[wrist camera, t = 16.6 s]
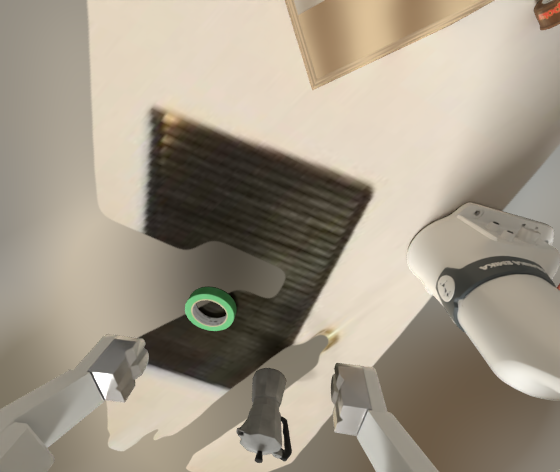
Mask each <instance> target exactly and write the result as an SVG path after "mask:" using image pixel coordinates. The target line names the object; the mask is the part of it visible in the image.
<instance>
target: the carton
mask: <svg viewBox="0 0 560 472" xmlns="http://www.w3.org/2000/svg"><path fill="white" fill-rule="evenodd" d="M492 1H494V0H285V2H286V5H287V9H288V12H289V15H290V18H291V22H292V25H293V28H294V31H295V35H296V38H297V41H298V44H299V48H300V51H301V54H302V57H303V61H304V64H305V67H306V71H307V74H308V77H309V80H310V84H311V87H312V90H314V89H316V88H318V87H320V86H323V85H325V84H327V83H329V82H331V81H333V80H335V79H337V78H339V77H342V76H344V75H346V74H348V73H350V72H352V71H354V70H356V69H358V68H361V67H363V66H365V65H367V64H369V63H371V62H373V61H375V60H377V59H380V58H382V57H384V56H386V55H388V54H390V53H392V52H394V51H397V50H399V49H401V48H403V47H405V46H407V45H409V44H411V43H413V42H416V41H418V40H420V39H422V38H424V37H426V36H428V35H430V34H432V33H435V32H437V31H439V30H441V29H443V28H445V27H447V26H449V25H451V24H453V23H455V22H457V21H459V20H460V19H462V18H464V17H466V16H468V15H469V14H471V13H473V12H475V11H476V10H478V9H480V8H482V7H484V6H485V5H487V4H489V3H491V2H492Z"/></svg>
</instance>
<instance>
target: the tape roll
mask: <svg viewBox="0 0 560 472" xmlns="http://www.w3.org/2000/svg"><path fill="white" fill-rule="evenodd" d="M202 300H210V301H213V302H216V303H218V304H219V305H221V306H222V308H224V309H225V311H226V314H227V315H225V316H224V317H221V318H211V317H208V316H206V315H204V314H203V313H201V312H200V311H199V309H198V307H197V302H198V301H202ZM236 309H237V308H236V304H235V302H234V300H233V299H232V297H231V296H230V295H229V294H227V292H225V291H224V290H222V289H219V288H216V287H201V288H199V289H197V290H195V291H194V292H193V293H192V294H191V296H190V297H189V299H188V301H187V302H186V305H185V312H186V315H187V317H188V318H189V320H190V321H191V322H192V323H193V324H195V325H196V326H198V327H200V328H202V329H205V330H210V331H219V330H223V329H226V328H228V327H229V326H230V325H231V324H232V322H233V320H234V317H235V314H236Z"/></svg>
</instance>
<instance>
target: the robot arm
mask: <svg viewBox="0 0 560 472" xmlns="http://www.w3.org/2000/svg"><path fill="white" fill-rule="evenodd" d="M476 211H477V213H476V214H474V213H475V212H476ZM553 238H554V231H553V228H552V227H551V226H549V225H547V224H544V223H541V222H538V221H534V220H531V219H527V218H523V217H520V216H517V215H513V214H510V213H507V212H503V211H500V210H496V209H493V208H489V207H486V206H482V205H479V204H475V203H466V204H464V205H462V206H461V207H460V208H458V209H457V210H456V211H455V212H453V213H452V214H451V215H449V216H447V217H445V218H442V219H440V220H437V221H435V222H433V223H431V224H430V225H428V226H427V227H425V228H424V229H423V230H422V231H420V232H419V233H418V234H417V236H416V237H415V238H414V239H413V241H412V242H411V244H410V246H409V249H408V253H407V264H408V267H409V269H410V271H411V272H412V273H413V274H414V275H415V276H416V277H417V278H418V279H419V280H420V281H421V282H422V283H423V285H424V287H425V289H426V291H427V292H428V293H429V294H430V295H434V296H435V297H436V298H437V300H439V302H440V303H441V304H442V305H443V306H444V308H445V310H446V311H447V313H448V314H449V316H450V317H451V319H452V321H453V322H454V323H455V324H456V325H457V326H458V327H459V328H460V329H461V330H462V331H463V332H465V333H467V335H468V336H469V338H470V339H471V341H472V342H473V344H474V345H475V346H476V348H477V349H478V350H479V352H480V353H481V355H482V356H483V358H484V359H485V361H486V362H487V363H488V365H489V366H490V368H491V369H492V370H493V372H494V373H495V374H496V375H497V376H498V377H499V378H500V379H501V380H502V381H504V382H505V383H506V384H508V385H510V386H512V387H513V388H515V389H517V390H519V391H521V392H524V393H526V394H528V395H531V396H534V397H538V398H542V399H549V400H559V401H560V284H559V285H558V287H557V288H556V286H555V285H554V283H553V281H552V278H553V277H554V275H555V273H556V272H557V270H558V267H559V264H560V253H559V252H558V250H557V249H556V248H554V247H553V246H552V242H553ZM144 346H145V341H144V339H140V338H132V337H125V336H119V335H111V334H107V335H105V336H104V337H102V338H101V340H100V341H99V342H98V343H97V344H96V345H95V346H94V347H93V348H92V350H91V351H90V352H89V353H88V354H87V355H86V356H85V357H84V359H83V360H82V361H81V362H80V363H79V364H78V365H77V366H76V368H75V369H74V370H69V371H66V372H65V373H63V374H61V375H60V376H58V377H56V378H54V379H53V380H51V381H49V382H47V383H46V384H44V385H42V386H40V387H38V388H37V389H35V390H33V391H32V392H30V393H28V394H26V395H24V396H23V397H21V398H20V399H17V400H16V401H14V402H12V403H10V404H9V405H7V406H5V407H4V408H2V409H0V472H47V471H48V470H49V468H50V467H51V465H52V464H53V462H54V456H53V455H52V453H51V452H50V451H49V450H48V449H47V448H48V447H49V446H50V445H51V444H53V443H54V442H55V441H56V440H57V439H59V438H60V437H61V436H62V435H64V434H65V433H66V432H67V431H69V430H70V429H71V428H72V427H74V426H75V425H76V424H77V423H78V422H80V421H81V420H82V419H83V418H85V417H86V416H87V415H88V414H89V413H90V412H92V411H93V410H94V409H96V408H97V407H98V406H99V405H100V404H102V403H103V402H104V400H107V401H116V402H125V401H126V400H127V398H128V396H129V395H130V393H131V392H132V390H133V388H134V387H135V379H137V378H138V377H139V376H141V375H142V374H143V372H144V370H145V369H146V366H147V363H148V359H149V355H148V351H147V350H146V349H144V348H143V347H144ZM334 369H335V374H334V375H333V376H332V380H331V399H332V402H333V403H334V405H335V406H334V410H333V421H334V432H338V433H344V434H349V435H355V436H357V439H358V440H359V442H360V444H361V445H362V447H363V449H364V451H365V453H366V454H367V456H368V458H369V460H370V461H371V463H372V465H373V467H374V469H375V470H376V472H439V471H438V470H437V469H436V468H435V467H434V465H433V464H432V463H431V461H430V460H429V459H428V458H427V457H426V455H425V454H424V453H423V452H422V450H421V449H420V448H419V447H418V445H417V444H416V443H415V442H414V441H413V439H412V438H411V437H410V435H409V434H408V433H407V432H406V431H405V429H404V428H403V427H402V426H401V424H400V423H399V422H398V421H397V419H396V418H395V417H394V416H393V414H392V413H388V412H387V409H386V405H385V402H384V398H383V394H382V390H381V387H380V383H379V380H378V376H377V372H376V370H375V368H373V367H365V366H360V365H351V364H342V363H336V365H335V368H334ZM556 472H560V469H559V470H558V471H556Z"/></svg>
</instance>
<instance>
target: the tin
mask: <svg viewBox="0 0 560 472" xmlns="http://www.w3.org/2000/svg"><path fill="white" fill-rule="evenodd" d="M534 12H535V15H536V18H537V20H538V22H539V24H540V30H547V29H550V28H552V27H554V26H557V25H558V24H560V0H540V1H539V2H538V3H537V5H536V6H535V8H534Z"/></svg>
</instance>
